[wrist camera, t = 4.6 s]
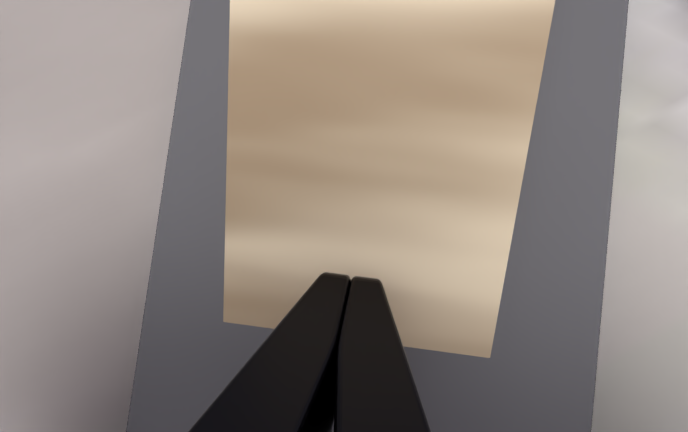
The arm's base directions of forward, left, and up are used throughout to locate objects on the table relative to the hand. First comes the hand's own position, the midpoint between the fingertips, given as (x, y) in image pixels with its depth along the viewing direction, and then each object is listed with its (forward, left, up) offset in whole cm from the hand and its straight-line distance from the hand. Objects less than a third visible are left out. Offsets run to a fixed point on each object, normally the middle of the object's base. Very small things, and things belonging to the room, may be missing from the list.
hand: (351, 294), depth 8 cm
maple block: (0, 0, -5) cm, 5 cm away
